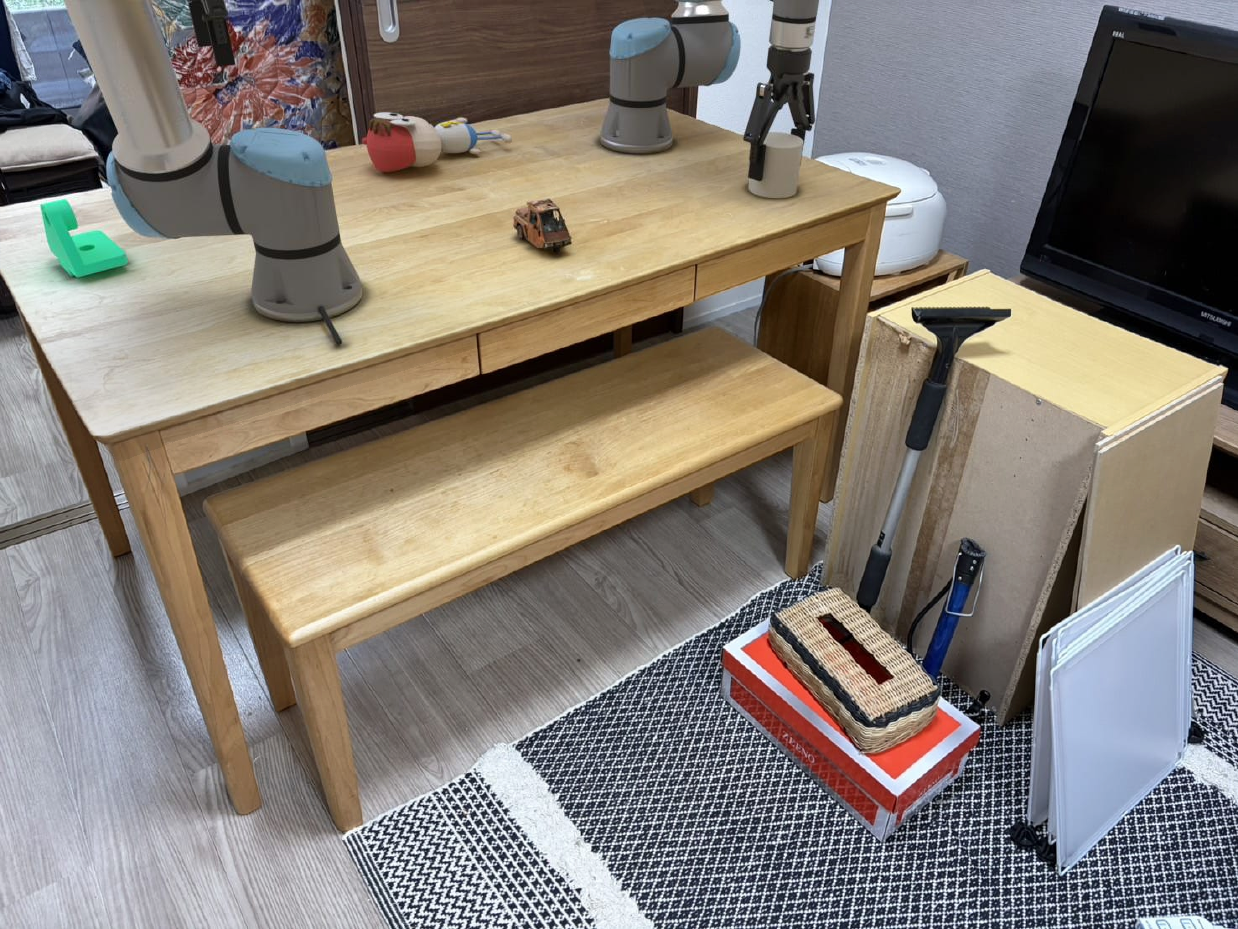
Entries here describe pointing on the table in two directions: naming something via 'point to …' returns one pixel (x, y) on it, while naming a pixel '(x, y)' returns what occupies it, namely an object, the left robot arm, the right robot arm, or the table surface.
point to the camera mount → (78, 242)
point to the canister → (779, 166)
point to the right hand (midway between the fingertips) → (774, 171)
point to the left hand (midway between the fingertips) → (216, 55)
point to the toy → (418, 140)
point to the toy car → (542, 225)
